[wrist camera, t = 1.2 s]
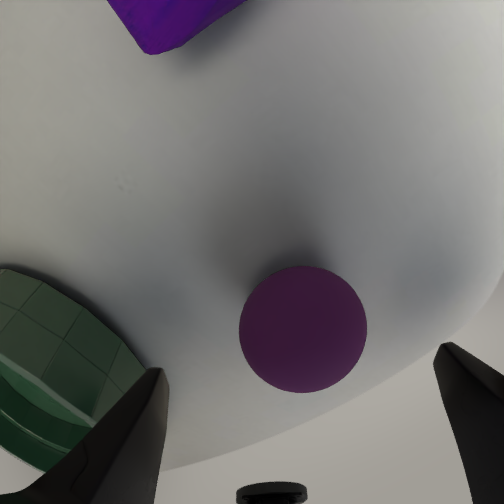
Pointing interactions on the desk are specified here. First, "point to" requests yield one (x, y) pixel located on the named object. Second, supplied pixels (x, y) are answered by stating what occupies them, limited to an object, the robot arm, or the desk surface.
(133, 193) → the desk surface
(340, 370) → the ball
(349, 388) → the desk surface
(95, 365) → the bowl
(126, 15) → the crystal
